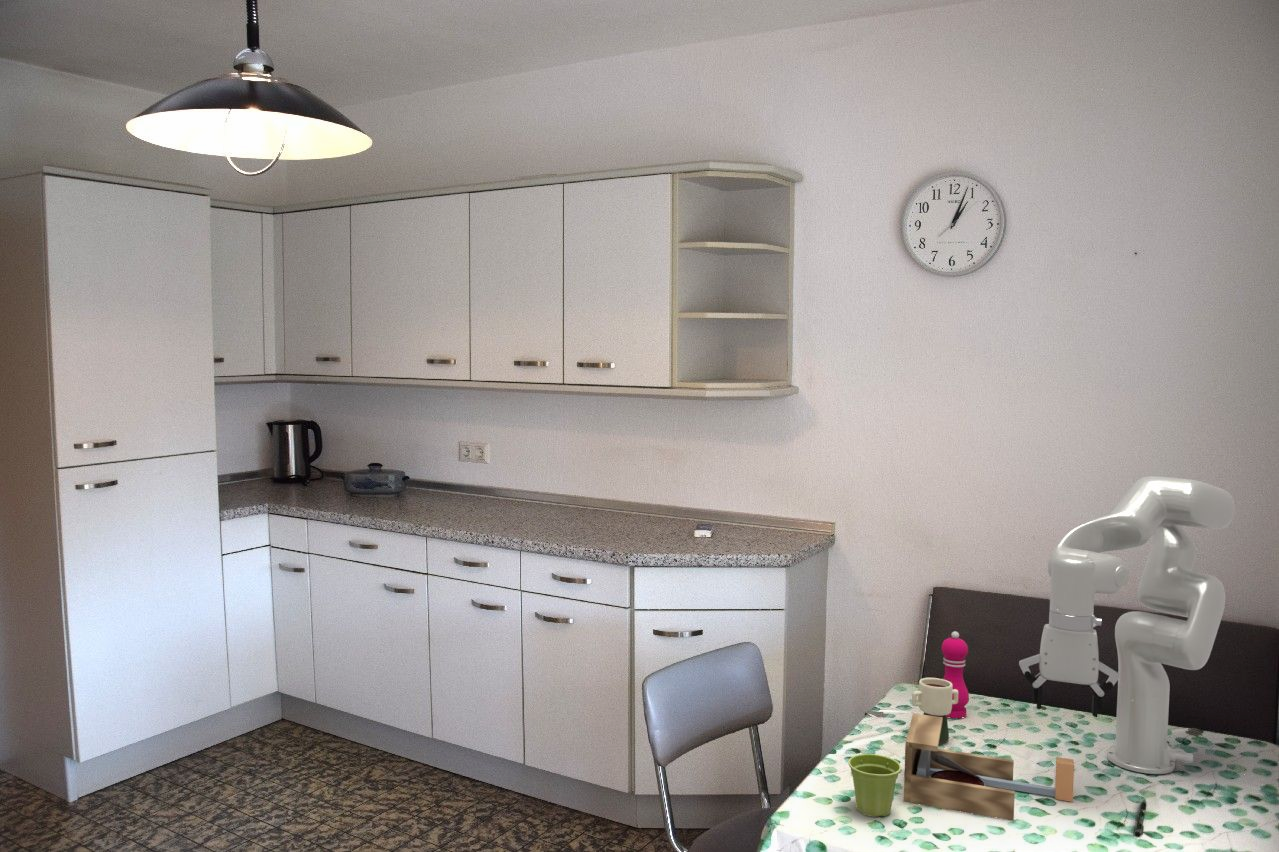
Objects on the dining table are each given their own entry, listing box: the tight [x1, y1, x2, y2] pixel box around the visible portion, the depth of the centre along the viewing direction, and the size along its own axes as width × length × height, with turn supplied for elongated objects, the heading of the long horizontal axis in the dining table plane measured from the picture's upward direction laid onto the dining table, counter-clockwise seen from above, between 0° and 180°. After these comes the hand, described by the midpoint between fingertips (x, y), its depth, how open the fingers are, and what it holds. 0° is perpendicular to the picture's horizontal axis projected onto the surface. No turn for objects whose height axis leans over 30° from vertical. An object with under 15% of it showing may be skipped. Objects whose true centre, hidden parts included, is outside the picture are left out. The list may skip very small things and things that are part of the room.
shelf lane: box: [902, 712, 1016, 822], centre depth 180 cm, size 19×16×12 cm
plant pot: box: [847, 753, 902, 818], centre depth 172 cm, size 9×9×9 cm
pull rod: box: [916, 749, 1075, 803], centre depth 178 cm, size 28×14×7 cm, turn 69°
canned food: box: [930, 753, 986, 786], centre depth 180 cm, size 11×10×10 cm
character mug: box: [911, 677, 958, 744], centre depth 207 cm, size 11×7×13 cm, turn 101°
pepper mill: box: [941, 630, 970, 719], centre depth 223 cm, size 7×7×20 cm
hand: (1066, 710), depth 178 cm, fingers open, 9 cm apart
